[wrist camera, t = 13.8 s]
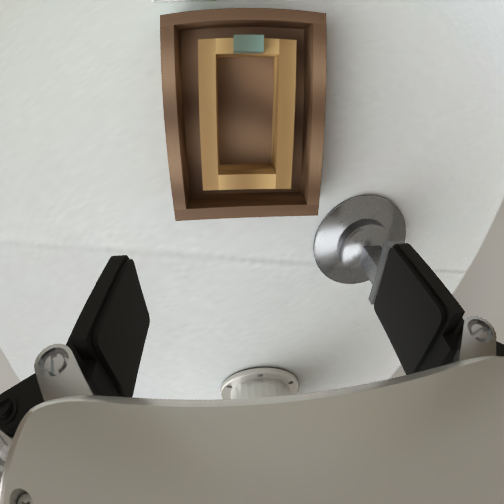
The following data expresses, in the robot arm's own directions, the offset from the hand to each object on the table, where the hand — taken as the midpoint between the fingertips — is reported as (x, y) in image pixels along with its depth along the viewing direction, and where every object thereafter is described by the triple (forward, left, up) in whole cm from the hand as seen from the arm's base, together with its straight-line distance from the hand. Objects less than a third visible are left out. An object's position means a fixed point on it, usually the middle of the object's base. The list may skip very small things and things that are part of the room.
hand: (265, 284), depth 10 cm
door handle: (-9, -12, -18) cm, 24 cm away
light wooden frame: (+4, 0, -17) cm, 18 cm away
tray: (+4, 0, -18) cm, 18 cm away
